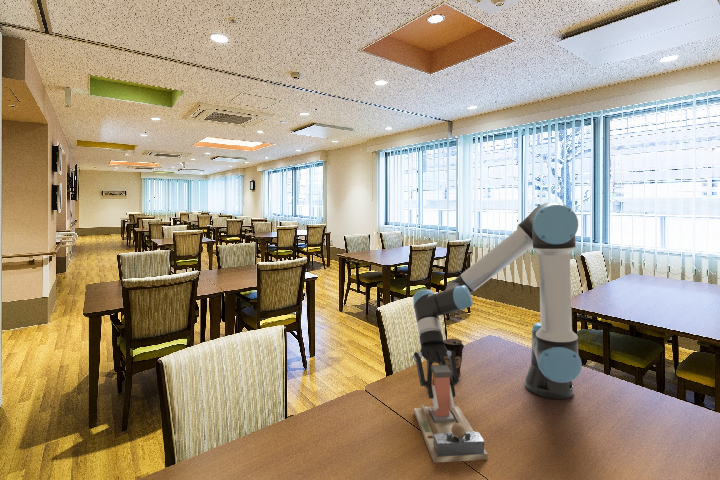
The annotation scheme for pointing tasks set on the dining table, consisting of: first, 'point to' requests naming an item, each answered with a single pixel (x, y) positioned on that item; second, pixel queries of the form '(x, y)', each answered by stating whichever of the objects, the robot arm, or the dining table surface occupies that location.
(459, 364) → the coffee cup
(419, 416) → the cream base plate
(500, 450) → the dining table surface
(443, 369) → the handle
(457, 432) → the brown ball
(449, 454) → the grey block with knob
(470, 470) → the dining table surface
